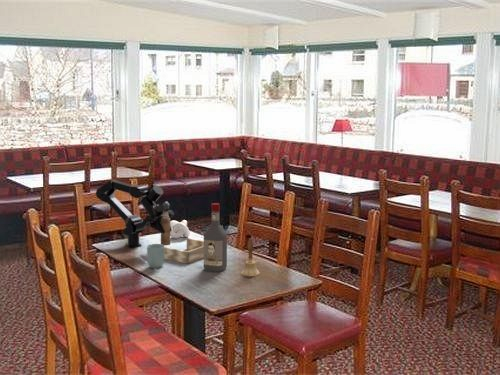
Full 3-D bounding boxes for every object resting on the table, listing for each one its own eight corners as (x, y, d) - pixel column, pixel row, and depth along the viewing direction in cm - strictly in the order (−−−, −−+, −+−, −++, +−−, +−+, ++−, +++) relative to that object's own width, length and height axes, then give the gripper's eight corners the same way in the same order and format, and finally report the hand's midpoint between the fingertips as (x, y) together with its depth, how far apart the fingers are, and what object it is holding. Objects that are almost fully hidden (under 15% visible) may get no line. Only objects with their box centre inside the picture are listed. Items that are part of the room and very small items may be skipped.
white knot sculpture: (171, 233, 340) (171, 217, 339) (192, 234, 339) (192, 218, 338) (166, 239, 329) (166, 222, 328) (188, 239, 328) (188, 223, 327)
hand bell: (242, 276, 268) (243, 241, 266) (239, 271, 276) (240, 236, 274) (261, 276, 270) (262, 240, 267) (257, 270, 278) (258, 235, 275)
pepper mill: (159, 243, 305) (159, 210, 302) (168, 242, 307) (168, 209, 304) (162, 245, 301) (162, 212, 298) (171, 244, 303) (171, 211, 300)
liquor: (209, 264, 285) (210, 201, 280) (228, 267, 282) (228, 202, 277) (201, 270, 276) (201, 204, 271) (220, 272, 273) (221, 206, 268)
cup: (166, 265, 283) (166, 244, 282) (162, 270, 276) (162, 248, 274) (149, 264, 284) (149, 243, 282) (145, 269, 276) (145, 247, 275)
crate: (161, 259, 293) (161, 246, 292) (187, 249, 309) (187, 238, 308) (188, 264, 284) (188, 252, 283) (213, 254, 301) (213, 243, 300)
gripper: (146, 200, 294) (164, 226, 290) (171, 194, 309) (188, 218, 306) (134, 213, 299) (151, 239, 296) (159, 207, 315) (176, 231, 311)
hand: (167, 231), depth 302 cm, fingers closed on pepper mill, 5 cm apart
